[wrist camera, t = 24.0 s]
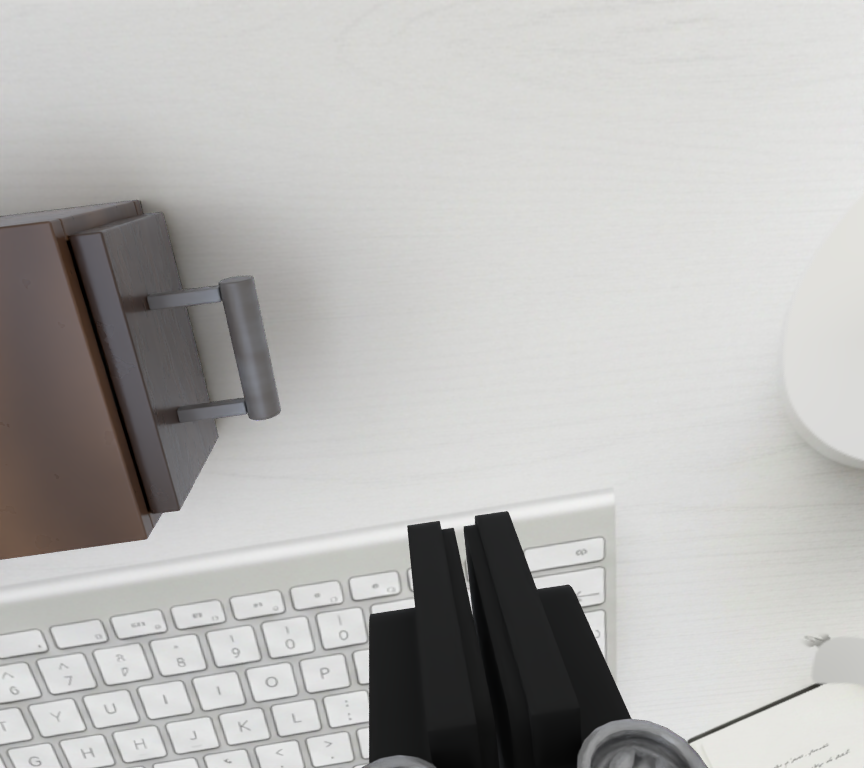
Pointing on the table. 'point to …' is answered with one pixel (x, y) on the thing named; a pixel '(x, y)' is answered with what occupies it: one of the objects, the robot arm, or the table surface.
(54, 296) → the cabinet
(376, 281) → the table surface
